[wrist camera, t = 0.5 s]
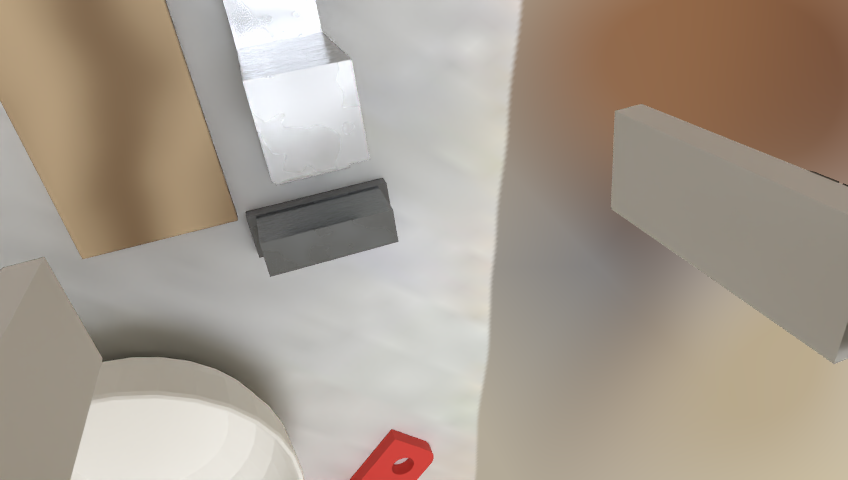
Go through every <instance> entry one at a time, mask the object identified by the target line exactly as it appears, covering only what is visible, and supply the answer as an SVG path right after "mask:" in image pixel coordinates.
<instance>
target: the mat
mask: <svg viewBox="0 0 848 480" xmlns="http://www.w3.org/2000/svg"><path fill="white" fill-rule="evenodd" d="M0 101H1V103H2V105H3V107H4V109H5V111H6V113H7V115H8V117H9V119H10V120H11V122H12V124H13V126H14V128H15V130H16V132H17V134H18V136H19V138H20V140H21V142H22V144H23V146H24V147H25V149H26V151H27V153H28V155H29V157H30V159H31V161H32V163H33V165H34V167H35V169H36V171H37V173H38V174H39V176H40V178H41V180H42V182H43V184H44V186H45V188H46V190H47V192H48V194H49V196H50V198H51V200H52V201H53V203H54V205H55V207H56V209H57V211H58V213H59V215H60V217H61V219H62V221H63V223H64V225H65V227H66V228H67V230H68V232H69V234H70V236H71V238H72V240H73V242H74V244H75V246H76V248H77V250H78V252H79V254H80V255H81V257H82V259H85V258H89V257H93V256H97V255H101V254H105V253H109V252H113V251H117V250H121V249H125V248H129V247H133V246H137V245H141V244H145V243H149V242H153V241H157V240H161V239H165V238H169V237H173V236H177V235H181V234H185V233H189V232H193V231H197V230H201V229H205V228H209V227H213V226H217V225H221V224H225V223H229V222H233V221H237V220H238V217H237V213H236V210H235V207H234V204H233V201H232V198H231V195H230V192H229V189H228V186H227V183H226V180H225V177H224V174H223V171H222V168H221V165H220V162H219V159H218V156H217V153H216V150H215V147H214V145H213V142H212V139H211V136H210V133H209V130H208V127H207V124H206V121H205V118H204V115H203V112H202V109H201V106H200V103H199V100H198V97H197V94H196V91H195V88H194V85H193V82H192V79H191V76H190V73H189V70H188V67H187V64H186V61H185V58H184V55H183V52H182V49H181V46H180V43H179V40H178V37H177V34H176V31H175V28H174V25H173V22H172V19H171V16H170V13H169V10H168V7H167V4H166V1H165V0H0Z"/></svg>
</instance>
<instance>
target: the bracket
mask: <svg viewBox="0 0 848 480" xmlns="http://www.w3.org/2000/svg"><path fill="white" fill-rule="evenodd" d="M402 458H408V459H407V460H406V461H405V462H403V463H401V464H396V465H395V464H394V463H395V462H396V461H397V460H399V459H402ZM432 461H433V453H432V451H431V448H430V446H429V444H428V443H427V442H426V441H424V440H421V439H418V438H415V437H412V436H409V435H407V434H404V433H401V432H398V431H395V430H392V429H391V431H390V432H389V433H388V434H387V435H386V437H385V438H384V439H383V440H382V441H381V443H380V444H379V445H378V446H377V448H376V449H375V450H374V451H373V452H372V454H371V455H370V456H369V457H368V458H367V460H366V461H365V462H364V463H363V464H362V466H361V467H360V468H359V469H358V470H357V472H356V473H355V474H354V475H353V476H352V478H351V479H350V480H417V479H418V478H419V477H420V476H421V474H422V473H423V472H424V471H425V470H426V469H427V467H428V466H429V465H430V464H431V463H432Z"/></svg>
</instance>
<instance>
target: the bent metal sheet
mask: <svg viewBox="0 0 848 480" xmlns="http://www.w3.org/2000/svg"><path fill="white" fill-rule="evenodd" d="M223 3H224V6H225V10H226V13H227V17H228V20H229V24H230V27H231V31H232V34H233V38H234V41H235V45H236V48H237V54H238V59H239V65H240V70H241V76H242V81H243V85H244V88H245V92H246V95H247V98H248V102H249V105H250V109H251V112H252V116H253V119H254V123H255V126H256V130H257V133H258V136H259V140H260V143H261V147H262V150H263V154H264V157H265V161H266V164H267V168H268V171H269V174H270V178H271V181H272V183H275V184H276V185H279V184H283V183H288V182H292V181H296V180H300V179H304V178H308V177H312V176H317V175H321V174H325V173H329V172H333V171H337V170H341V169H346V168H350V165H349V164H353V163H358V162H362V161H366V160H370V155H369V149H368V144H367V139H366V133H365V128H364V123H363V117H362V112H361V107H360V101H359V96H358V91H357V85H356V80H355V74H354V69H353V64H352V59H351V58H350V57H348V56H347V55H346V54H345V53H344V52H343V51H342V50H341V49H340V48H339V47H338V46H337V45H336V44H334V43H333V42H332V41H331V40H330V39H329V38H328V37H327V36H326V35H325V34H324V33H323V32H322V30H321V25H320V21H319V16H318V11H317V6H316V1H315V0H223Z"/></svg>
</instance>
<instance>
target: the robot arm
mask: <svg viewBox="0 0 848 480" xmlns="http://www.w3.org/2000/svg"><path fill="white" fill-rule="evenodd" d="M611 209H612V210H614V211H615V212H617V213H618V214H620V215H621V216H622V217H624V218H625V219H627V220H628V221H630V222H631V223H633V224H634V225H635V226H637V227H638V228H640V229H641V230H642V231H644V232H645V233H647V234H648V235H650V236H651V237H653V238H654V239H655V240H657V241H658V242H660V243H661V244H663V245H664V246H665V247H667V248H669V249H670V250H671V251H673V252H674V253H676V254H677V255H678V256H680V257H681V258H683V259H684V260H686V261H687V262H688V263H690V264H691V265H693V266H694V267H696V268H697V269H698V270H700V271H701V272H703V273H704V274H706V275H707V276H709V277H710V278H711V279H713V280H714V281H716V282H717V283H719V284H720V285H721V286H723V287H724V288H726V289H727V290H729V291H730V292H731V293H733V294H734V295H736V296H737V297H739V298H740V299H742V300H743V301H744V302H746V303H747V304H749V305H750V306H752V307H753V308H754V309H756V310H757V311H759V312H760V313H762V314H763V315H764V316H766V317H767V318H769V319H770V320H772V321H773V322H774V323H776V324H777V325H779V326H780V327H782V328H783V329H785V330H786V331H787V332H789V333H790V334H792V335H793V336H795V337H796V338H797V339H799V340H800V341H802V342H803V343H805V344H806V345H807V346H809V347H810V348H812V349H813V350H815V351H816V352H818V353H819V354H820V355H822V356H823V357H825V358H826V359H828V360H829V361H830V362H832V363H833V364H835V363H838V362H840V361H843V360H846V359H848V185H846V184H840V183H839V181H836V180H834V179H831V178H829V177H826V176H823V175H821V174H818V173H816V172H813V171H808V170H805V169H802V168H800V167H797V166H795V165H792V164H790V163H787V162H785V161H782V160H780V159H777V158H774V157H772V156H770V155H768V154H765V153H762V152H760V151H757V150H755V149H753V148H750V147H748V146H745V145H742V144H740V143H738V142H735V141H733V140H730V139H728V138H725V137H723V136H720V135H718V134H715V133H713V132H710V131H708V130H705V129H703V128H700V127H698V126H695V125H692V124H690V123H688V122H685V121H682V120H680V119H678V118H675V117H672V116H670V115H668V114H665V113H663V112H660V111H657V110H655V109H653V108H650V107H648V106H645V105H643V104H640V105H637V106H633V107H628V108H625V109H621V110H617V111H615V124H614V149H613V176H612V199H611ZM102 360H103V358H102V357H101V355H100V353H99V351H98V350H97V348H96V346H95V344H94V343H93V341H92V339H91V337H90V336H89V334H88V332H87V330H86V329H85V327H84V325H83V323H82V322H81V320H80V318H79V316H78V315H77V313H76V311H75V309H74V308H73V306H72V304H71V302H70V301H69V299H68V297H67V295H66V294H65V292H64V290H63V289H62V287H61V285H60V283H59V282H58V280H57V278H56V276H55V275H54V273H53V271H52V269H51V268H50V266H49V264H48V262H47V261H46V259H45V257H42V258H38V259H34V260H31V261H27V262H23V263H19V264H15V265H11V266H7V267H3V268H2V270H1V271H0V480H70V479H71V475H72V472H73V468H74V464H75V461H76V457H77V453H78V449H79V446H80V442H81V438H82V434H83V431H84V427H85V423H86V419H87V416H88V412H89V408H90V404H91V401H92V397H93V393H94V389H95V386H96V382H97V378H98V375H99V371H100V367H101V363H102Z"/></svg>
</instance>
